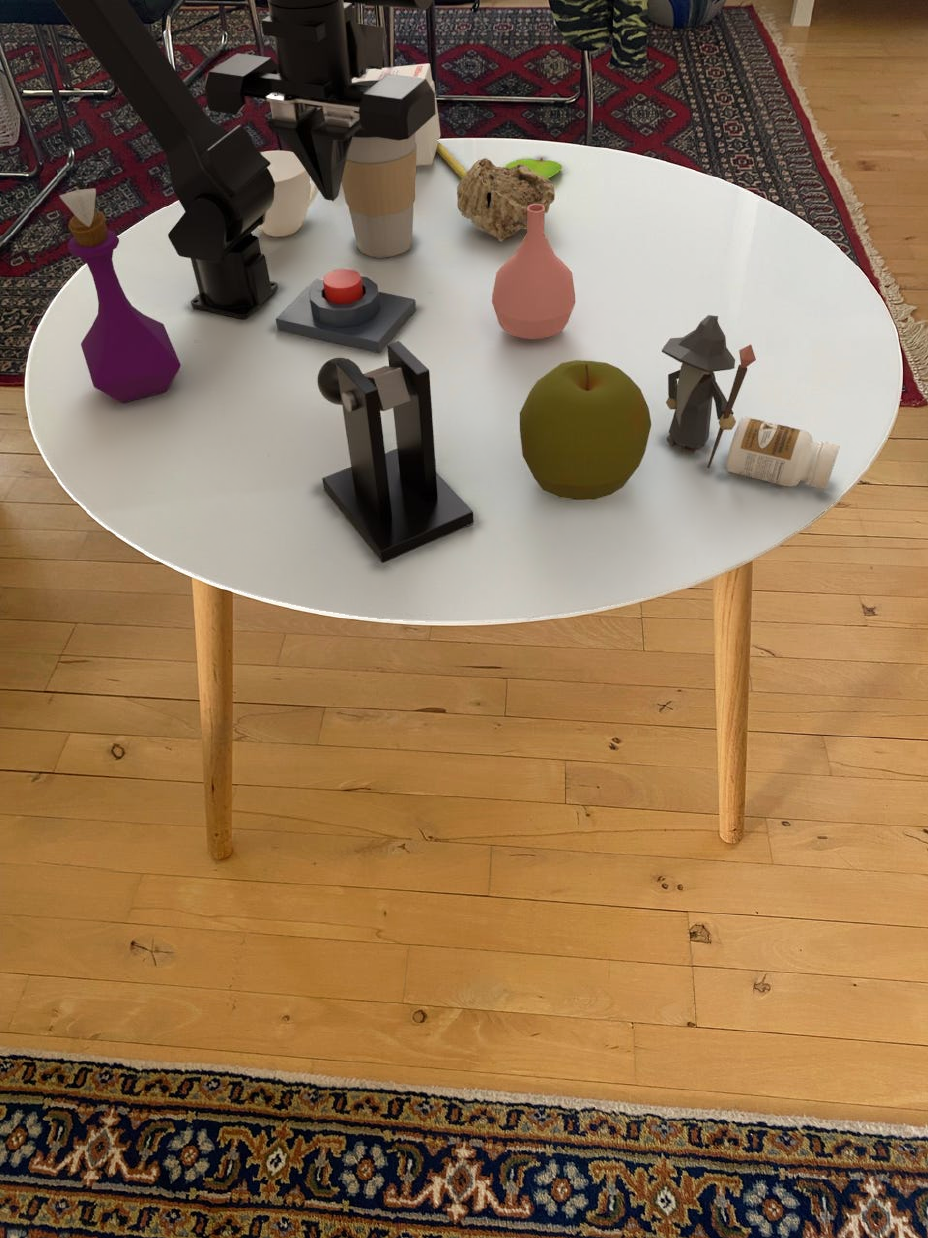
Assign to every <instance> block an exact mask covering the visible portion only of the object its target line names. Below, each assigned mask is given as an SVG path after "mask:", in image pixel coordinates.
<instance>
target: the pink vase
mask: <svg viewBox="0 0 928 1238" xmlns="http://www.w3.org/2000/svg"><path fill="white" fill-rule="evenodd" d="M545 218H546V213H545V207H544V206H543V205H541V204H531V205H529V206H528V207H527V229H526V234H525V236H524V237H523V239H522V241H521V243H520V245H519V246H518V248H517V250H516V252H515V253H514V254H513V255H512V256H511V257H509V259H508V260H507V261H505V262H504V263H503V264H502V266H501V267H500V268H498V270H497V272H496V273H495V279H494V284H493V289H492V297H491V303H492V306H493V309H494V313H495V315H496V318H497V322H498V323H499V326H500V327H501V329H502V330H504V331H505V332H506V333H508V334H509V335H511V336H514V337H518V338H520V339H530V340H534V339H535V340H536V339H546V338H549V337H552V336H555V335H557V334H558V333H560V332H561V331H563V330H564V329H565V328H566V326H567V325H568V322H569V320H570V317H571V315H572V313H573V310H574V307H575V305H576V291H575V284H574V277H573V276H574V275H573V272H572V271H571V269H570V268H569V266H567V265H566V263H564V262H563V261H562V260H561V259H560V258H559V257H558V256H557V254H555V252H554V250H553V248H552V246H551V244H550V242H549V240H548V238H547V237H546V234H545Z"/></svg>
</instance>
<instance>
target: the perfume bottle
mask: <svg viewBox="0 0 928 1238" xmlns="http://www.w3.org/2000/svg"><path fill="white" fill-rule="evenodd" d="M96 197H97V190H96V188H85V189H75V190H73V191H69V192H66V193H62V194H59V198H60V199H61V201H62V202H63V203H64V204H65V205H66V207H68V209H69V210H70V211H71V212H72V214H73V216H72V217H71V218H70V220H69V222H68V226H67V227H68V229H69V231H70V233H71V234H72V237H71V238H70V240H69V242H68V244H67V249H68V251H69V252H70V254H71V255H72V256H73V257H76V258H80V259H82V261H83V262H84V263H85V264H86V265H87V267H88V269H89V272H90V274H91V276H92V279H93V284H94V287H95V291H96V296H97V301H98V305H97V306H98V307H97V314H96V317H95V318H94V321H93V322H92V325H91V327H89V329H88V331H87V333H86V335H85V336H84V338H83V340H82V341H81V343H80V347H81V349H82V354H83V356H84V360H85V363H86V365H87V369H88V372H89V376H90V380H91V382H92V385H93V388H95V389H96V390H98V391H100V392H101V393H103V394H105V395H107V396H109V397H110V398H112V399H113V400H116V401H117V402H119V403H128V402H131V401H134V400H136V401H137V400H140V399H143V398H147V397H150V396H151V397H152V396H155V395H159V394H163V393H166V392H167V391H168V390H169V388H170V386H171V385H172V383H173V381H174V379H175V377H176V375H177V374H178V372H179V370H180V368H181V362H180V360H179V357H178V355H177V352H176V350H175V347H174V345H173V343H172V340H171V338H170V336H169V333H168V332H167V329H166V327H165V324H164V323H163V322H160V321H159V320H156V319H154V318H152V317H149V316H148V315H145V314H144V313H143V312H141V311H140V310H138V309H137V308H136V307H134V306H133V305H132V303H131V302H130V300H129V299H128V298H127V296H126V294H125V292H124V289H123V288H122V285H121V283H120V281H119V278H118V276H117V273H116V271H115V267H114V262H113V261H114V260H113V257H114V250H116V249H117V248H118V246H119V244H120V239H119V237H118V236H117V234H116V233H115V232H114V231H113V230H111V229H107V223H106V216H105V215H104V213H103V212H102V211H98V210H95V206H96Z"/></svg>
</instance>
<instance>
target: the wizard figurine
mask: <svg viewBox="0 0 928 1238" xmlns="http://www.w3.org/2000/svg"><path fill="white" fill-rule="evenodd" d="M738 351H739V352H738V353H739V361H740V364H738V367H737V370H736V373H735V376H734V380H733V383H732V386H731V390H730V393H729V395H728V399H727V397H726V396H725V395H724V393H723V391H722V389H721V388H720V386H719V384H718V383H717V380H716V375H715V372H722V371H730V370H733V369H735V365H736V359H735V357H734V355H733V354H732V353H731V352H730V350H729V349H728V347H727V338H726V334H725V333H724V331H723V329H722V328H721V326H720V324H719V315H710V314H708V315H707V316H705V318H703V319H702V320H701V321H700V322H699V324H698V325H697V326H696V328H695V329H694V330H692V331H690V332H689V333H688V334H686V335H684V336H682V337H671V338H669V339H668V341H667V342H666V343H665V344H664V346H663V348H662V349H661V353H663V354H665V355H667V356H668V357H670V358H672V359H673V360H675V361H677V362H679V363H680V364H681V366H680V369H678V370H676V371H673V372H671V373H668V374H667V395H668V397H667V399H666V401H665V403H666V405H667V407H668V409H669V410H674V413H673V416H672V420H671V423H670V427H669V430H668V433H669V435H668V436H667V437H666V442H668V443H669V445H671V446H672V447H673V446H675V445H679V446H683V449H682V452H684V453H688V454H693V455H694V454H695V453H697V451H698V450H699V449H700V447H704V446H706V444H707V442H708V440H709V438H710V427H711V420H712V419H711V418H712V408H713V400H714V405H715V411H716V417H717V420H718V425H719V428H718V432H717V435H716V438H715V442H714V445H713V447H712V451H711V453H710V457H709V460H708V463H707V469H710V467H711V465H712V462H713V460H714V457H715V454H716V452H717V449H718V447H719V445H720V441H721V438H722V436H723V433H724V431H730V430H731V431H732V429H733V428H734V427H735V426H736V424H737V423H736V422H737V421H736V418H735V416H734V411H733V408H734V405H735V402H736V400H737V397H738V395H739V392H740V390H741V388H742V385H743V382H744V380H745V377H746V374H747V372H748V370H749V369H748V367H749V366H750V365H751V364H752V363H754V362H756V356H755V355H756V354H755V351H754V349H753V345H752V344H749V345H747V346H745V347H743V348H741V349H739V350H738Z"/></svg>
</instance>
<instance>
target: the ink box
mask: <svg viewBox="0 0 928 1238" xmlns="http://www.w3.org/2000/svg"><path fill="white" fill-rule="evenodd" d="M431 68H432V67H431V64H430V63H420V64H419V63H418V64H409V65H408V64H407V65H399V66H388V67H382V69H381V70H380V69H374V68H369V69H368V68H366V74H364V75H363V76H362V77H360V78H355V77H354V78H353V79H352V83H355V82H360V81H371V80H381V79H382V78H383V77H385V76H386V75H387V74H395V75H402V76H409V77H417V78H424V79H426V80H427V82H428V83H429V84H430V86H431V88H432V89H433V91H434V93H435V112H436V114H435V115H434V116H433V117H432V118H431V119H430V120H429V121H427V122H426V123H425V124H424V125H423V126H422V127H421V128H420V129H419V130H418V131H416V138H415V142H416V145H417V156H416V167H420V166H430V165H433V162H434V159H435V156H436V153H437V151H436V149H437V145H438V142H439V143H440V138H441V128H440V127H441V126H440V118H439V117H440V116H439V111H438V103H437V96H436V88H435V81H434V80H433V77H432V69H431ZM437 140H439V141H437Z"/></svg>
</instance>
